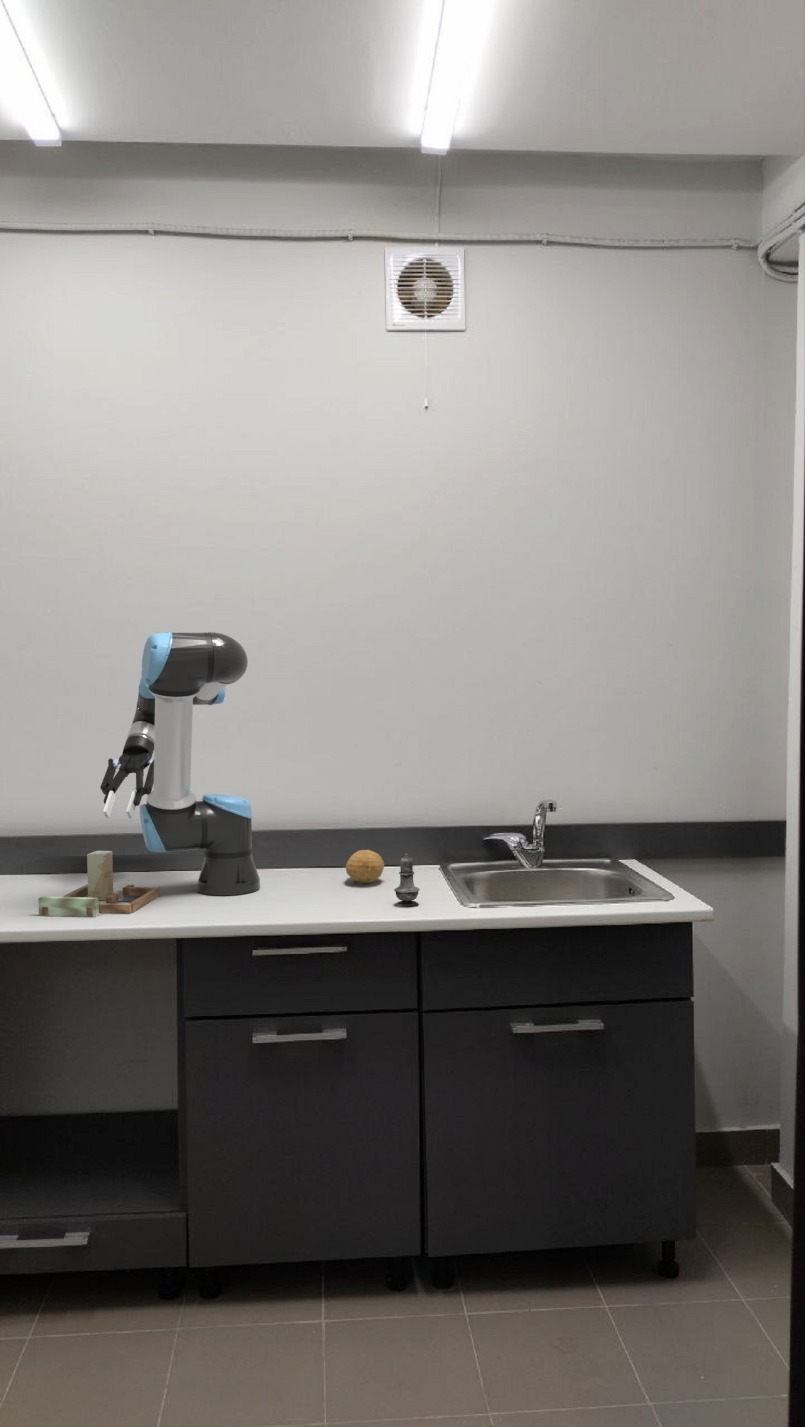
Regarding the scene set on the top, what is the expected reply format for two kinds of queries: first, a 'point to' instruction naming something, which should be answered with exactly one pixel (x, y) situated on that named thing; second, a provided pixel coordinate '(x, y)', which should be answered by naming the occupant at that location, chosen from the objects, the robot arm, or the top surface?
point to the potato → (365, 866)
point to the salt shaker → (406, 884)
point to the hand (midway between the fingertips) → (117, 814)
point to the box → (100, 874)
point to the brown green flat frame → (96, 902)
